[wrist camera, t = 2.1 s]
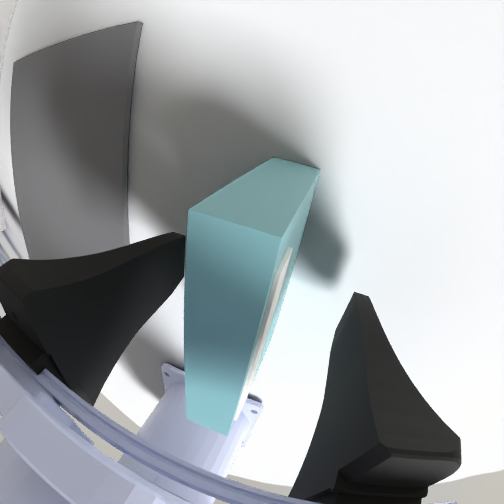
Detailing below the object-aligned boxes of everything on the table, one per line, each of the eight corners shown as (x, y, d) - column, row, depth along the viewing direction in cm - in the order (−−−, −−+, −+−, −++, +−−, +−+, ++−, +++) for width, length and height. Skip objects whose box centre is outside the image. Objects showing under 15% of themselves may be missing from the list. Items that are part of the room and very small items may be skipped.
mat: (137, 321, 18) (134, 324, 18) (32, 257, 21) (29, 259, 21) (142, 23, 9) (137, 21, 8) (17, 61, 12) (13, 62, 11)
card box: (273, 337, 15) (229, 437, 9) (240, 325, 15) (186, 418, 10) (322, 169, 10) (287, 240, 5) (274, 156, 10) (188, 209, 5)
